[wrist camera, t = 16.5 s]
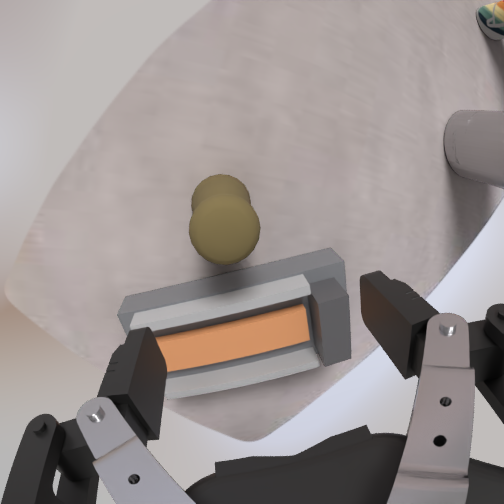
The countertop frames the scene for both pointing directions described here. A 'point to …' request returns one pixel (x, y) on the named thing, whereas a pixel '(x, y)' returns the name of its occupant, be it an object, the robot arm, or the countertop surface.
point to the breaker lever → (235, 338)
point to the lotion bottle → (492, 20)
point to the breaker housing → (247, 305)
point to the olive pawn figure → (223, 220)
